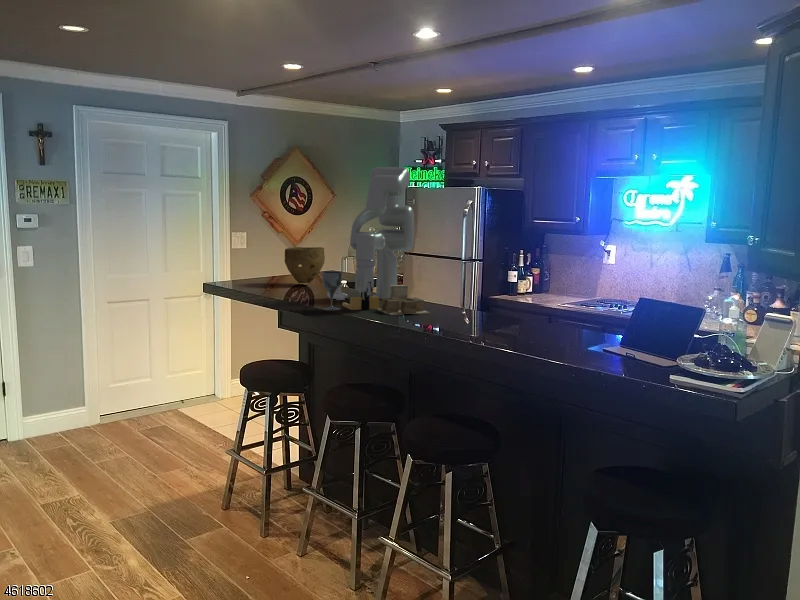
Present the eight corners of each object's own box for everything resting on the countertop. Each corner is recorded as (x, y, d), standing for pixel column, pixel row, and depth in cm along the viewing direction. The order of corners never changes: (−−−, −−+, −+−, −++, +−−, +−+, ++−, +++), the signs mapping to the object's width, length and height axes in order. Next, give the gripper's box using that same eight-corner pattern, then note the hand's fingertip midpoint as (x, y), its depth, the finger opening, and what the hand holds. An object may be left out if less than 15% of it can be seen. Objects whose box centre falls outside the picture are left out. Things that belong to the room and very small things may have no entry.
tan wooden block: (342, 305, 272) (342, 294, 271) (369, 305, 276) (369, 293, 276) (350, 309, 261) (351, 297, 261) (378, 309, 266) (379, 297, 265)
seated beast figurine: (344, 301, 287) (344, 273, 285) (324, 300, 287) (325, 273, 286) (348, 298, 296) (348, 272, 294) (329, 297, 297) (329, 271, 295)
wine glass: (338, 311, 257) (338, 273, 255) (318, 309, 259) (319, 272, 257) (343, 308, 265) (344, 271, 263) (325, 307, 267) (325, 270, 265)
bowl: (297, 288, 324) (298, 248, 322) (276, 284, 339) (277, 246, 337) (332, 286, 338) (332, 248, 335) (310, 282, 353) (311, 245, 350)
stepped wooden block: (376, 309, 264) (377, 285, 263) (414, 308, 271) (415, 284, 270) (390, 315, 251) (391, 289, 249) (430, 314, 257) (431, 288, 256)
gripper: (350, 262, 267) (349, 306, 270) (363, 265, 253) (362, 312, 256) (367, 262, 270) (366, 306, 273) (381, 265, 256) (379, 311, 259)
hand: (364, 309), depth 264 cm, fingers closed on tan wooden block, 1 cm apart
